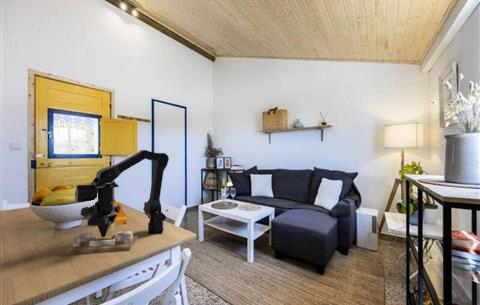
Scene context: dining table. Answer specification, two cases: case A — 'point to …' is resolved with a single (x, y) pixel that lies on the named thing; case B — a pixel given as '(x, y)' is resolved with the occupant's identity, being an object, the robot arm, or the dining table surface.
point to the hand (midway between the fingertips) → (105, 234)
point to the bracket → (120, 215)
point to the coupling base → (102, 243)
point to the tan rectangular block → (109, 233)
